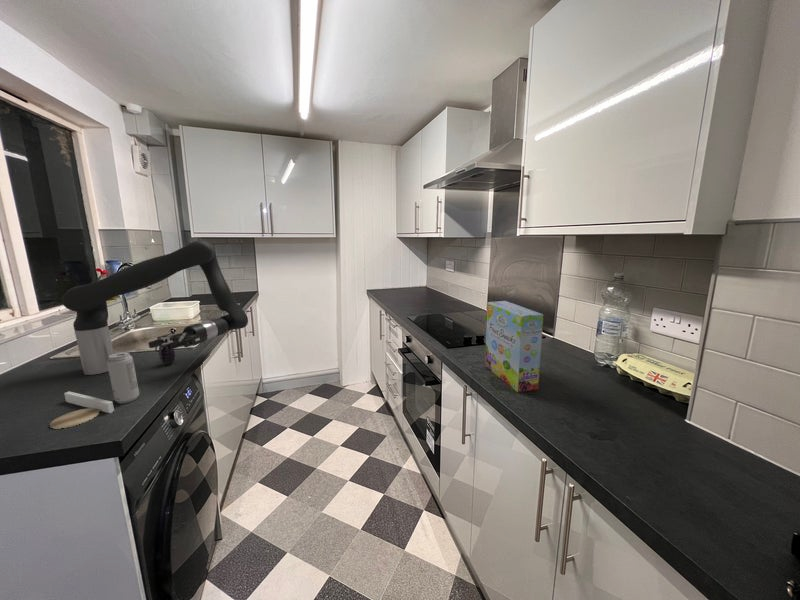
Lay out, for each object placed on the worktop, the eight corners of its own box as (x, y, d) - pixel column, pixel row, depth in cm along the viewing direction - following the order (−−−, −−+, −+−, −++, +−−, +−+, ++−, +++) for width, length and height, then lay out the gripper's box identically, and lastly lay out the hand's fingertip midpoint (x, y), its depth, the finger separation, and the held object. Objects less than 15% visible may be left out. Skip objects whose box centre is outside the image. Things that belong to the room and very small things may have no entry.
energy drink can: (120, 397, 103) (111, 352, 100) (142, 393, 105) (134, 350, 102) (111, 406, 97) (101, 359, 94) (135, 402, 99) (126, 356, 96)
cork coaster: (41, 425, 88) (41, 423, 88) (86, 406, 97) (86, 405, 97) (63, 432, 84) (63, 430, 84) (107, 412, 94) (107, 411, 93)
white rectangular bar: (66, 401, 100) (64, 393, 99) (71, 400, 101) (69, 391, 101) (109, 413, 93) (107, 403, 93) (114, 411, 94) (112, 401, 94)
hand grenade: (166, 368, 125) (162, 343, 123) (156, 367, 126) (152, 343, 124) (179, 362, 131) (175, 339, 129) (169, 361, 132) (165, 338, 130)
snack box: (482, 367, 122) (485, 301, 117) (502, 364, 124) (506, 300, 119) (516, 393, 101) (521, 315, 96) (540, 390, 104) (546, 313, 99)
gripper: (186, 321, 125) (141, 334, 110) (213, 324, 120) (170, 337, 106) (189, 340, 127) (145, 354, 112) (216, 343, 122) (174, 359, 107)
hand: (158, 346), depth 109 cm, fingers open, 8 cm apart
